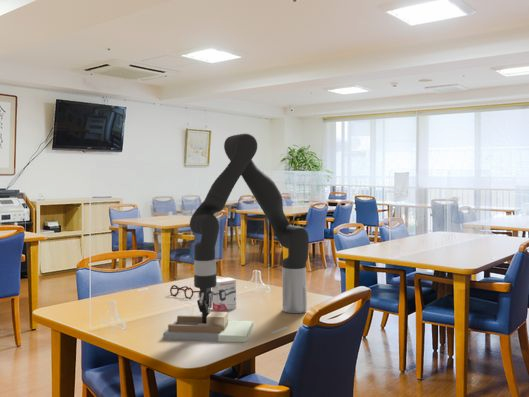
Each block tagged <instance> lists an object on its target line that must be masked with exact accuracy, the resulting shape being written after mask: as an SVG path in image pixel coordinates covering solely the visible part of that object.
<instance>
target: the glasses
mask: <svg viewBox="0 0 529 397" xmlns="http://www.w3.org/2000/svg"><path fill="white" fill-rule="evenodd" d="M172 290H176V293H175V294H174V293H173V291H172ZM188 290H190V291H191V295H190V296H187V291H188ZM169 291H170V292H169V293H170V295H171V296H172V295H173V297H176V296H178V294H179V291H184V297H185V298H186V299H192V298H193V295H194V294H195V293H200V290H193V289H192V288H191V287H188V286H187V285H184V286H181V287H179V286H178V285H175V284H172V285H171V286H170V290H169Z"/></svg>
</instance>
